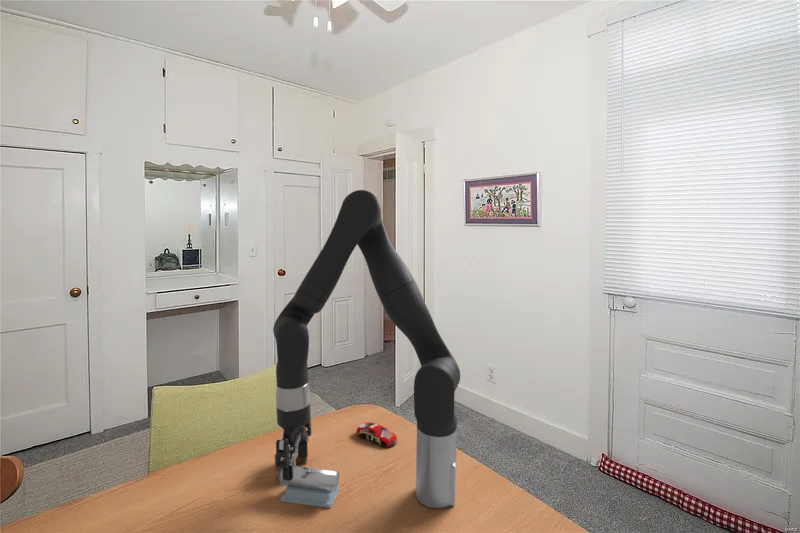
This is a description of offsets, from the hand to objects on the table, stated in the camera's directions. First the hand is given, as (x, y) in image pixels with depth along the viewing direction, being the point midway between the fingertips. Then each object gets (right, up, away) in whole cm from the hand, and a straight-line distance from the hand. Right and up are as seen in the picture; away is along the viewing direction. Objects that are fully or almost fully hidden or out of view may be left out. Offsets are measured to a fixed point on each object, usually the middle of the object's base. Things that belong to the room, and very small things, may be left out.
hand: (295, 467), depth 96 cm
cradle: (+3, -7, +1) cm, 8 cm away
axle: (+3, -5, +1) cm, 6 cm away
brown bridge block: (-4, -6, +11) cm, 13 cm away
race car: (+17, -4, +26) cm, 31 cm away
